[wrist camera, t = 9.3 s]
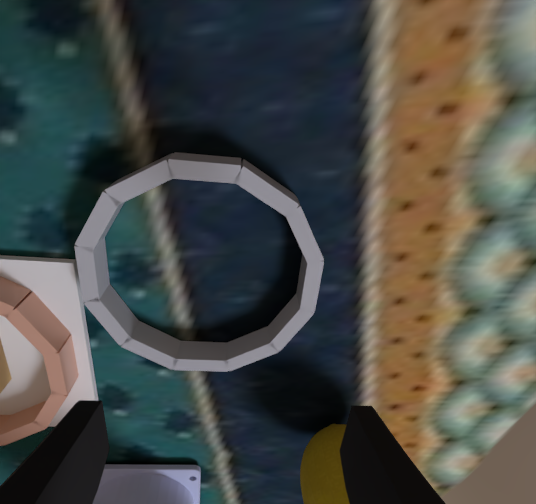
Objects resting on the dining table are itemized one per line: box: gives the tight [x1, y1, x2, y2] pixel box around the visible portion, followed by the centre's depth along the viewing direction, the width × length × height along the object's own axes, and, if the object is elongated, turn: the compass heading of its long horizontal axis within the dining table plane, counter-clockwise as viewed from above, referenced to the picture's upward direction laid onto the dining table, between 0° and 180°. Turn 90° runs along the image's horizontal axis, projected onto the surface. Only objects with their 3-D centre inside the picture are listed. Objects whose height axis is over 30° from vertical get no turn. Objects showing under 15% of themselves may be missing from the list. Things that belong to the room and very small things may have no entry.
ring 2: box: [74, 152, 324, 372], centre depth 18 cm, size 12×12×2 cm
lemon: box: [300, 424, 350, 504], centre depth 21 cm, size 6×6×8 cm
